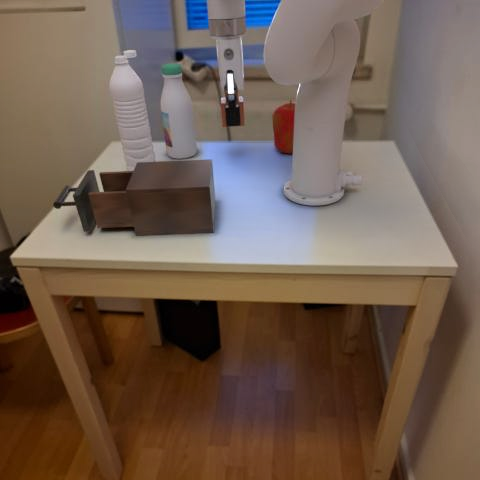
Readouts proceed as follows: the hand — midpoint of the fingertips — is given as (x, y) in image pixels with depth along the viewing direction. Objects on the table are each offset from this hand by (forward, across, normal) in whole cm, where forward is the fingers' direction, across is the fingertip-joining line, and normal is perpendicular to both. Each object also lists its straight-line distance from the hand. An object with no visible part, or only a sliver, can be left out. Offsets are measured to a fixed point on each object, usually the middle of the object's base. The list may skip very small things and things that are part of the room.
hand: (233, 121), depth 101 cm
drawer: (+8, -28, +24) cm, 38 cm away
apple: (+10, +5, -13) cm, 17 cm away
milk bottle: (+9, +6, +14) cm, 17 cm away
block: (0, 0, 0) cm, 0 cm away
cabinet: (+10, -28, +12) cm, 32 cm away
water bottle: (+9, -9, +21) cm, 24 cm away
